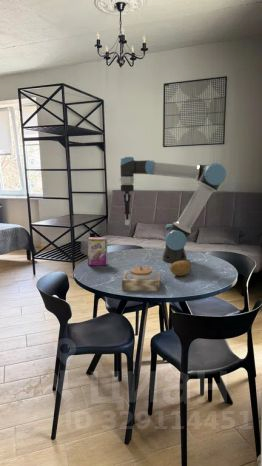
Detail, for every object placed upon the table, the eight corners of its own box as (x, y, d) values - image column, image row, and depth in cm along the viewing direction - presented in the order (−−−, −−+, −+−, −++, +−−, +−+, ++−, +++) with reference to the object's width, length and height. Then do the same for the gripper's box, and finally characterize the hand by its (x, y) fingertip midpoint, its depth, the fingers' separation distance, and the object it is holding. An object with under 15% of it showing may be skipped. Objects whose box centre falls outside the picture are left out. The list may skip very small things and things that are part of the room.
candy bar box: (87, 265, 191) (87, 238, 188) (89, 263, 195) (89, 237, 193) (106, 266, 189) (105, 239, 187) (107, 263, 194) (107, 237, 191)
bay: (158, 280, 163) (158, 271, 162) (159, 290, 148) (159, 280, 148) (124, 280, 164) (124, 270, 163) (122, 290, 149) (122, 280, 148)
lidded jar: (153, 288, 152) (153, 269, 150) (131, 289, 151) (131, 270, 149) (150, 281, 162) (150, 263, 160) (129, 281, 161) (129, 264, 160)
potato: (195, 273, 174) (195, 259, 173) (181, 280, 164) (181, 265, 162) (180, 270, 180) (180, 256, 179) (165, 276, 170) (166, 261, 169)
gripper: (121, 184, 191) (121, 223, 195) (120, 184, 178) (120, 226, 182) (133, 184, 190) (133, 223, 195) (133, 184, 178) (133, 226, 182)
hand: (127, 224), depth 188 cm, fingers closed
